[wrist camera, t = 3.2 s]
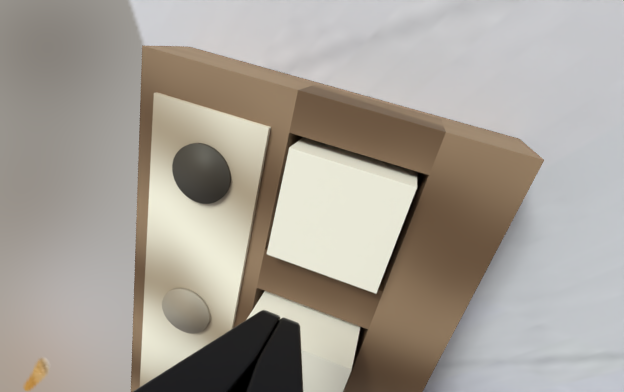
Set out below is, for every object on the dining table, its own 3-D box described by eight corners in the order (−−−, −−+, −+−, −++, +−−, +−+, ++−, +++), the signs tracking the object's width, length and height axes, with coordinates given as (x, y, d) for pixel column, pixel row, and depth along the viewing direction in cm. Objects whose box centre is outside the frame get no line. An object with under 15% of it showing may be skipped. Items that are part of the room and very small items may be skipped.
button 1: (382, 253, 16) (376, 293, 14) (290, 222, 17) (266, 254, 14) (417, 161, 14) (417, 187, 12) (312, 130, 15) (289, 147, 12)
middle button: (337, 383, 18) (323, 442, 15) (254, 350, 19) (227, 401, 16) (362, 316, 16) (351, 369, 13) (270, 282, 17) (242, 326, 14)
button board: (358, 472, 23) (348, 537, 20) (160, 386, 25) (125, 433, 22) (519, 138, 14) (548, 163, 11) (189, 46, 16) (134, 45, 13)
